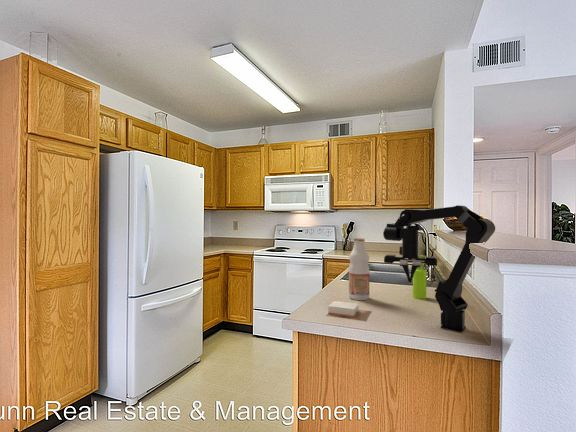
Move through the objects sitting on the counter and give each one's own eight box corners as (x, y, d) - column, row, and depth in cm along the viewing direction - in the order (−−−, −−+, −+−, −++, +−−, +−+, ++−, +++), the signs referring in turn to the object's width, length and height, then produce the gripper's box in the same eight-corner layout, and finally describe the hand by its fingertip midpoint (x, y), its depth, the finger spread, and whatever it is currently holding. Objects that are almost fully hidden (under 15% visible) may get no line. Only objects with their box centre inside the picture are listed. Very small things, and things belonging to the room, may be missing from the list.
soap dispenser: (430, 299, 146) (430, 256, 146) (415, 299, 146) (415, 256, 146) (425, 296, 152) (425, 254, 152) (411, 296, 152) (411, 254, 152)
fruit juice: (344, 297, 149) (344, 238, 149) (358, 294, 154) (358, 237, 154) (359, 301, 141) (359, 239, 141) (373, 299, 146) (373, 238, 146)
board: (371, 312, 125) (371, 311, 125) (365, 322, 113) (365, 321, 113) (334, 308, 131) (334, 306, 131) (325, 317, 119) (325, 315, 119)
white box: (358, 303, 125) (333, 301, 129) (354, 309, 117) (328, 306, 121) (358, 311, 125) (333, 308, 129) (354, 317, 117) (328, 313, 121)
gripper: (436, 241, 124) (436, 280, 124) (387, 239, 132) (387, 276, 132) (437, 243, 114) (437, 286, 114) (384, 241, 122) (383, 281, 122)
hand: (410, 282), depth 121 cm, fingers closed
